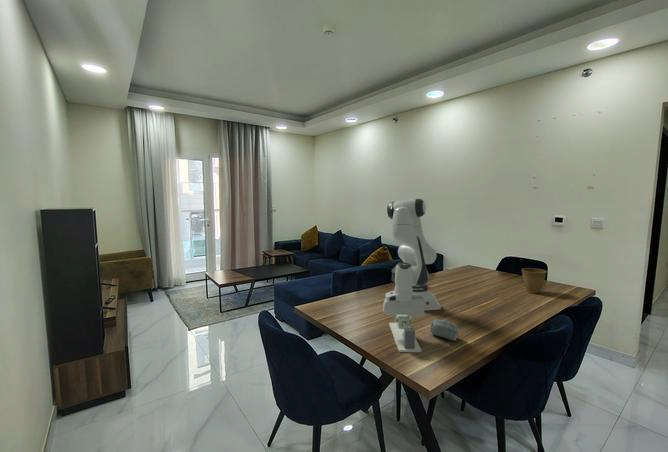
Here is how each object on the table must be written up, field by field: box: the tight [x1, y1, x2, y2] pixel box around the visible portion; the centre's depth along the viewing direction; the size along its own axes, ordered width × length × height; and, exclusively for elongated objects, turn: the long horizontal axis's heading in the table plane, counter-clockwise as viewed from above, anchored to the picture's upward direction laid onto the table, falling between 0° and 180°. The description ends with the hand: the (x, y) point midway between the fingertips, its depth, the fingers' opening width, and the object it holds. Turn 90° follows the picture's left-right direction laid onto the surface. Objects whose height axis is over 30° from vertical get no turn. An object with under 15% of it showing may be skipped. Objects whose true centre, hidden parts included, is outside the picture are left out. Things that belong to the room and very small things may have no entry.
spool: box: [430, 319, 460, 342], centre depth 155 cm, size 14×10×10 cm
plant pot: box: [521, 267, 547, 294], centre depth 224 cm, size 15×15×16 cm
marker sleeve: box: [397, 314, 410, 329], centre depth 158 cm, size 5×5×5 cm
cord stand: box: [388, 314, 422, 353], centre depth 156 cm, size 10×30×10 cm, turn 179°
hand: (403, 322), depth 158 cm, fingers open, 5 cm apart
